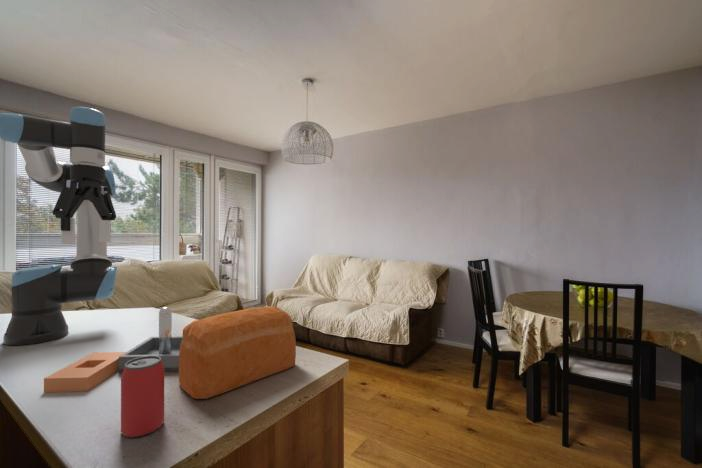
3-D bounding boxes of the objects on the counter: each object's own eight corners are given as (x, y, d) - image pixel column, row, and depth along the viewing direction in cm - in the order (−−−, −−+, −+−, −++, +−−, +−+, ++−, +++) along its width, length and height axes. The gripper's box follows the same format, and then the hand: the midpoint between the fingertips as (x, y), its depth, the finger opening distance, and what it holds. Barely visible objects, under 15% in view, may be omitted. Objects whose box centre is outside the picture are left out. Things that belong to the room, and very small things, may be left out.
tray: (151, 350, 95) (151, 336, 95) (203, 349, 96) (203, 336, 96) (118, 372, 80) (118, 356, 80) (181, 371, 81) (181, 355, 81)
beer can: (134, 417, 61) (134, 354, 61) (171, 416, 61) (171, 353, 61) (111, 440, 54) (111, 369, 54) (152, 438, 55) (152, 368, 55)
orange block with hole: (93, 363, 85) (93, 352, 85) (129, 363, 86) (129, 351, 86) (43, 392, 70) (43, 378, 70) (87, 390, 71) (87, 377, 71)
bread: (300, 366, 85) (301, 306, 85) (198, 405, 66) (198, 328, 65) (271, 352, 94) (271, 299, 94) (174, 383, 75) (174, 315, 75)
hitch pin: (162, 354, 89) (162, 305, 89) (173, 354, 90) (173, 305, 89) (156, 358, 86) (156, 308, 86) (168, 358, 87) (168, 308, 86)
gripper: (66, 155, 77) (66, 245, 77) (129, 174, 101) (129, 241, 102) (32, 155, 76) (32, 244, 76) (104, 173, 101) (104, 241, 101)
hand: (88, 243), depth 89 cm, fingers open, 13 cm apart
